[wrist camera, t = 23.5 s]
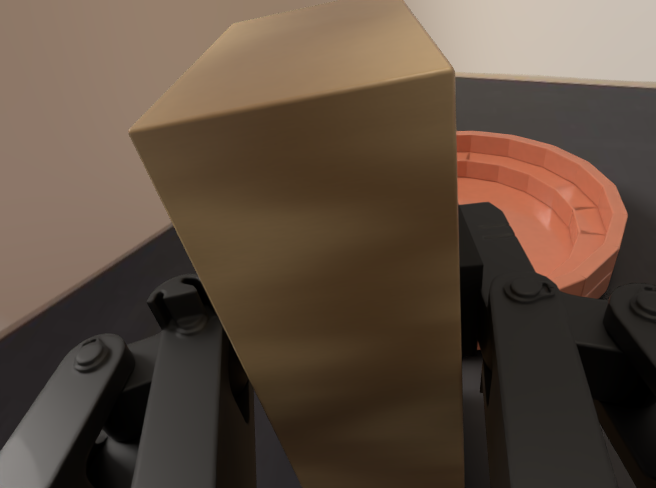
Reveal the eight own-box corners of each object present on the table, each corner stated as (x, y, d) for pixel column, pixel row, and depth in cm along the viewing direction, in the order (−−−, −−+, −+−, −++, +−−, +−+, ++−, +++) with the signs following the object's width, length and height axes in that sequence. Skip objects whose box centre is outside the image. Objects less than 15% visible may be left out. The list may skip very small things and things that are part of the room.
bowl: (254, 334, 21) (237, 288, 19) (340, 171, 33) (335, 133, 31) (651, 386, 16) (678, 330, 14) (582, 171, 28) (592, 127, 26)
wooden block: (336, 560, 12) (124, 130, 5) (337, 380, 17) (231, 23, 10) (466, 554, 12) (456, 66, 4) (430, 371, 17) (395, -13, 9)
